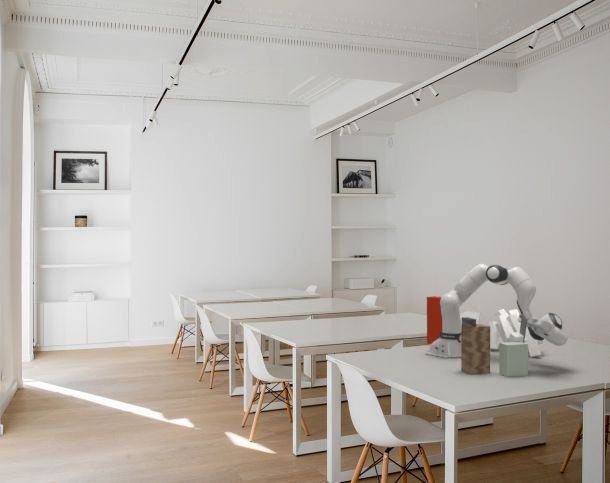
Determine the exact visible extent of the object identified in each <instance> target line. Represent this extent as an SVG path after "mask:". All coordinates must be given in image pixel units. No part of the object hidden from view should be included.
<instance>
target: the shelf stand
mask: <svg viewBox="0 0 610 483" xmlns="http://www.w3.org/2000/svg"><path fill="white" fill-rule="evenodd" d="M460 359H461V361H460V362H461V363H460V366H461V367H460V368H461V372H463V373H466V374H468V375H479V374H490V373H491V350H490V326H489V325H487V324H482V323H477V319H476V318H473V317H468V316H466V317H465V316H463V317H461V357H460Z"/></svg>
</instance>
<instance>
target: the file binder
mask: <svg viewBox="0 0 610 483" xmlns="http://www.w3.org/2000/svg"><path fill="white" fill-rule="evenodd" d="M441 297H442V296H436V295H432V296H426V344H428V345H431V344H432V343H433V342H434V341H436V340H437V339H438V338H440V335H439V333H441V332H442V313H441V305H440V299H441Z"/></svg>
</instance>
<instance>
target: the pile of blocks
mask: <svg viewBox="0 0 610 483" xmlns="http://www.w3.org/2000/svg"><path fill="white" fill-rule="evenodd" d="M519 312H520V311H519V308H518V309H517V308H515V309H510V310H509V311H508V312H507V311H506V310H505V309H504V308H502V309H499V310H497V311H496V313H495V314H494V315H495V316H496V318H498V321H499V322H498V321H495V320H492V321H490V322H488V326H490V351H496V350H499V336H500V338H501V340H502V343H506V342H509V338H510V333H514V332H520V325H521V323H520V322H518V318H519V314H520V313H519ZM533 318H535V317H534V316H533ZM524 343H526V344H528V354H529V356H530V358H535V357H540V356H542V352H541V349H540V346H539V345H542V344H543V343H544V340H542V341H540V340H535V339H533V338H532V337H531V335H530V333H529V331H528V327H526V334H525V341H524Z"/></svg>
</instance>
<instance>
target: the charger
mask: <svg viewBox="0 0 610 483" xmlns="http://www.w3.org/2000/svg"><path fill="white" fill-rule="evenodd" d="M525 316H526V314H522V318H521V325H520V332H514V333H510V338H509V342H522V343H524V341H525V334H526V327H527V319H525Z"/></svg>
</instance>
